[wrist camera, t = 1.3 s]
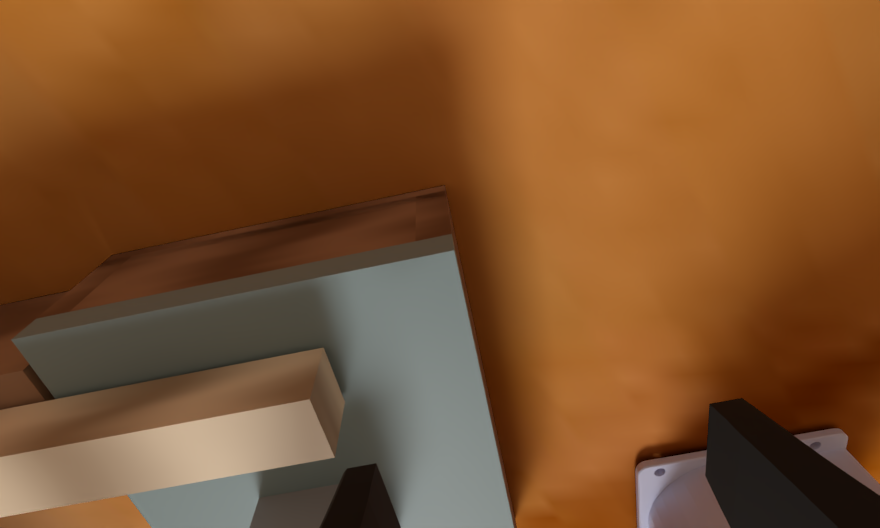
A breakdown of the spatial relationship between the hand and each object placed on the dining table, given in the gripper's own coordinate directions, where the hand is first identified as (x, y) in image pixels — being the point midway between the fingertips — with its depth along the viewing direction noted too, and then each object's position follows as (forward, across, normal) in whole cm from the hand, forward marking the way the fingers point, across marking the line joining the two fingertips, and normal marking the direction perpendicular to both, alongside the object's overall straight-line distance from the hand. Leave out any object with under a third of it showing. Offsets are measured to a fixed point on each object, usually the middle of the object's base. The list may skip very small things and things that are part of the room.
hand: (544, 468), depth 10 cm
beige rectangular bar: (+4, +11, 0) cm, 12 cm away
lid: (+5, +7, +6) cm, 11 cm away
